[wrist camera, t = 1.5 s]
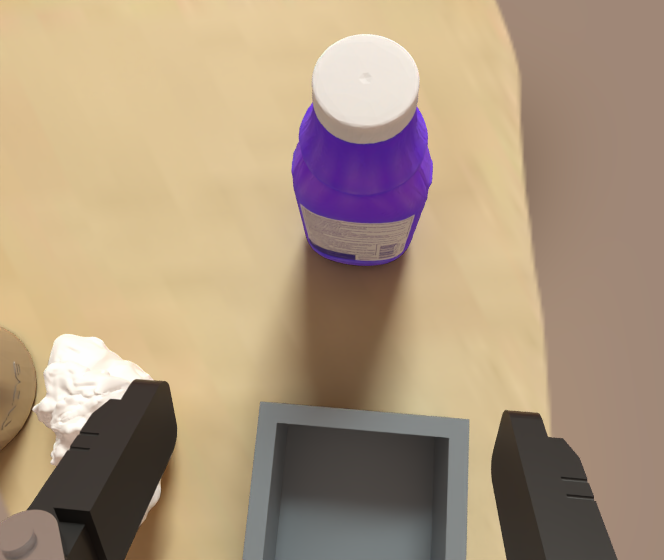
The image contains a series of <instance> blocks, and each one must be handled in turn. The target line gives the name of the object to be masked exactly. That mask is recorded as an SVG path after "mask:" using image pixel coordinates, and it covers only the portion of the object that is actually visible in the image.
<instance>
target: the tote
mask: <svg viewBox="0 0 664 560" xmlns="http://www.w3.org/2000/svg"><path fill="white" fill-rule="evenodd" d="M468 452H469V419H459V418H448V417H437V416H425V415H413V414H402V413H390V412H378V411H367V410H355V409H343V408H332V407H320V406H308V405H297V404H285V403H273V402H260V408H259V417H258V426H257V435H256V444H255V453H254V462H253V471H252V480H251V489H250V498H249V507H248V516H247V524H246V533H245V542H244V551H243V560H466V543H467V498H468Z"/></svg>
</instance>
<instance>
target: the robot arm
mask: <svg viewBox="0 0 664 560" xmlns="http://www.w3.org/2000/svg"><path fill="white" fill-rule="evenodd" d="M35 390H36V375H35V367H34V364H33V361H32V358H31V355H30V353H29V352H28V350H27V349H26V347H25V345H24V344H23V343H22V342H21V341H20V340H19V339H18V338H17V337H16V336H15V335H14V334H13V333H11V332H9V331H8V330H6V329H4V328H2V327H0V450H1V449H2V448H4V447H5V446H6V445H7V444H8V443H9V442H10V441H12V440H13V438H14V437H15V436H16V435H17V433H18V432H19V431H20V430H21V428H22V427H23V425H24V423H25V421H26V419H27V417H28V416H29V414H30V411H31V408H32V405H33V401H34V398H35ZM176 438H177V423H176V418H175V413H174V408H173V403H172V397H171V392H170V387H169V384H168V383H167V382H166V381H155V380H143V379H135V380H133V381H132V382H131V384H130V385H129V387H128V388H127V390H126V392H125V393H124V395H123V396H122V398H121V400H120V399H109V400H108V401H107V402H106V403H104V404H103V405H102V406H101V407H99V408H98V409H97V410H96V411H94V412H93V413H92V414H91V416H90V417H89V419H88V420H87V422H86V423H85V424H84V426H83V427H82V429H81V430H80V434H79V435H77V436H76V438H75V439H74V441H73V442H72V444H71V445H70V449H69V450H67V451H66V453H65V454H64V456H63V457H62V459H61V460H60V462H59V463H58V465H57V466H56V468H55V469H54V471H53V472H52V474H51V475H50V477H49V478H48V480H47V481H46V483H45V484H44V486H43V487H42V489H41V490H40V492H39V493H38V495H37V496H36V498H35V499H34V501H33V502H32V504H31V505H30V506H29V508H28V509H27V510H26V511H23V512H20V513H17V514H14V515H12V516H10V517H8V518H7V519H5V520H3V521H2V522H0V560H124V559H125V557H126V555H127V552H128V550H129V548H130V546H131V544H132V541H133V539H134V537H135V535H136V532H137V530H138V528H139V526H140V524H141V521H142V519H143V517H144V515H145V512H146V510H147V508H148V506H149V504H150V501H151V499H152V497H153V495H154V493H155V490H156V488H157V486H158V484H159V481H160V479H161V477H162V475H163V473H164V470H165V468H166V466H167V464H168V461H169V459H170V457H171V455H172V453H173V450H174V447H175V443H176ZM491 475H492V484H493V489H494V494H495V500H496V505H497V510H498V516H499V521H500V526H501V532H502V537H503V542H504V547H505V553H506V558H507V560H617V557H616V554H615V552H614V549H613V546H612V544H611V541H610V538H609V536H608V533H607V530H606V528H605V525H604V522H603V520H602V517H601V514H600V512H599V509H598V506H597V503H596V501H594V495H593V493H592V490H591V488H590V485H589V483H587V477H586V474H585V471H584V469H583V466H582V463H581V461H580V458H579V457H578V456H577V454H576V453H575V452H574V451H573V450H572V449H571V447H570V446H569V445H568V444H567V443H566V441H565V440H564V439H563V438H551V437H548V436H547V433H546V430H545V427H544V424H543V420H542V418H541V416H540V414H539V413H533V412H520V411H508V410H505V411H504V412H503V415H502V418H501V422H500V426H499V430H498V434H497V438H496V442H495V446H494V450H493V454H492V462H491Z"/></svg>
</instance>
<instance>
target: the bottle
mask: <svg viewBox="0 0 664 560" xmlns="http://www.w3.org/2000/svg"><path fill="white" fill-rule="evenodd" d="M418 91H419V73H418V69H417V66H416V64H415V62H414V60H413V58H412V57H411V55H410V54H409V53H408V52H407V51H406V50H405V49H404V48H403V47H402V46H401V45H399V44H398V43H396V42H394V41H393V40H391V39H388V38H385V37H383V36H378V35H371V34H359V35H354V36H349V37H346V38H344V39H341V40H339V41H337V42H335V43H334V44H332V45H331V46H329V47H328V48H327V49H326V50H325V51H324V53H323V54H322V55H321V56H320V58H319V59H318V61H317V63H316V65H315V67H314V71H313V76H312V100H313V102H312V104H311V106H310V107H309V108H308V110H307V112H306V114H305V116H304V118H303V120H302V123H301V126H300V129H299V143H298V144H297V147H296V149H295V151H294V153H293V161H292V176H293V187H294V191H295V195H296V199H297V203H298V207H299V211H300V215H301V218H302V222H303V226H304V230H305V234H306V238H307V240H308V242H309V244H310V246H311V247H312V249H313V250H314V251H315V252H317V253H318V254H319V255H321V256H323V257H325V258H327V259H329V260H332V261H336V262H339V263H344V264H349V265H358V266H372V265H381V264H386V263H389V262H391V261H394V260H396V259H397V258H399V257H400V256H401V255H402V254H403V253H404V252H405V251H406V249H407V248H408V246H409V244H410V242H411V240H412V237H413V234H414V231H415V229H416V226H417V224H418V221H419V218H420V215H421V212H422V210H423V208H424V205H425V202H426V200H427V194H428V189H429V187H430V185H431V183H432V172H433V162H432V160H431V157H430V154H429V149H428V146H427V145H428V142H427V141H428V133H427V128H426V124H425V122H424V119H423V117H422V114H421V112H420V111H419V109H418V107H417V103H418Z"/></svg>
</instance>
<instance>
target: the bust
mask: <svg viewBox="0 0 664 560" xmlns="http://www.w3.org/2000/svg"><path fill="white" fill-rule="evenodd" d="M44 379H45V386H46V391H47V395H46V396H45V397H44V398H43V399H42V401H41V402H40V403H39V404H37V405H36V406H34V407H33V409H32V411H33V412H35V413H36V414H37V417H38V420H39V421H40V422H43V423H44V424H45V425H46V426H47V427H48V428H52V431H53V432H55V434H56V442H55V443H54V446H53V451H52V452H51V457H52V460H51V464H52V465H55V466H57V465H58V463H59V462H60V460H61V459H62V457H63V456H64V454H65V453H66V451H67V450H69V449H70V445H71V444H72V442H73V441H74V439H75V438H76V436H77V435H79V434H80V430H81V429H82V427H83V426H84V424H85V423H86V422H87V420H88V419H89V417H90V416H91V414H92V413H93V412H94V411H96V410H97V409H98V408H99V407H101V406H102V405H103V404H104V403H106V402H107V401H108V400H109V399H120V400H121V398H122V396H123V395H124V393H125V392H126V390H127V388H128V387H129V385H130V384H131V382H132V381H133V380H135V379H143V380H153V379H152V378H151V377H150V375H149V374H147V373H145V372H144V370H142V369H141V368H140V367H139V366H138V365H136V364H135V363H132V362H130V361H126V360H123V359H121V358H120V357H119V356H118V355H117V354H116V353H114V352H112V351H110V350H109V349H108V348H107V346H106V345H105V344H104V342H103V341H102V340H101V339H99V338H97V337H81V336H77V335H72V334H63V335H61V336H59V337H58V338H57V339H56V340H55V341H54V344H53V348H52V351H51V354H50V358H49V362H48V366H47V368H46V369H45V371H44ZM171 457H172V455H171ZM171 457H170V459H171ZM170 459H169V460H170ZM160 482H161V479H160V481H159V484H158V486H157V488H156V490H155V493H154V495H153V497H152V499H151V501H150V504H149V506H148V508H147V510H146V512H145V515H144V517H143V519H142V521H141V524H142V523H143V522H144V520H145V519H146V516H147V514H148V512H149V510H150V509H151V508H152V507H154V506H155V504H156V503H157V501H158V500H159V498H160V494H161V484H160ZM141 524H140V525H141Z"/></svg>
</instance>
